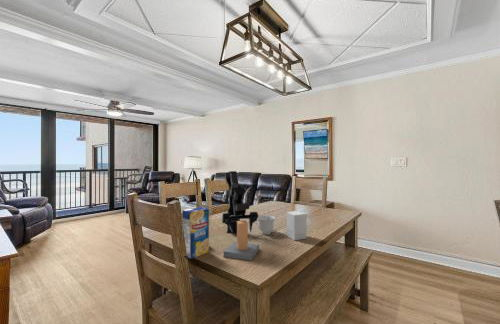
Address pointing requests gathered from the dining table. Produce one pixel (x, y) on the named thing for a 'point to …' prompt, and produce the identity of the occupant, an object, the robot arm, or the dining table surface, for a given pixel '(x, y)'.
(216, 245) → the dining table surface
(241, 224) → the orange carton
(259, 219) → the teacup
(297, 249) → the dining table surface
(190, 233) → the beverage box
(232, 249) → the display podium
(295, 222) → the supplement box
